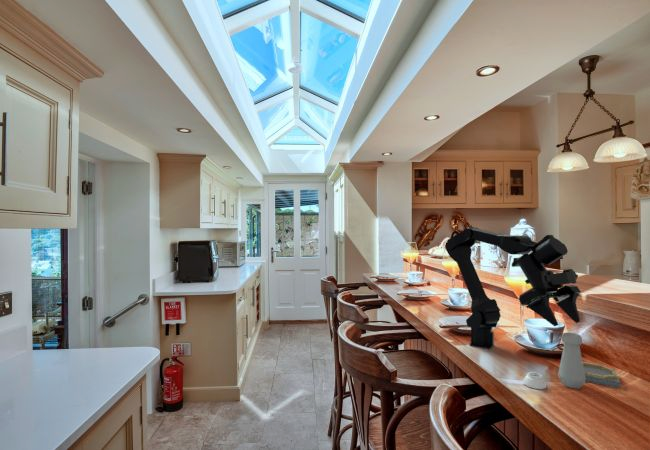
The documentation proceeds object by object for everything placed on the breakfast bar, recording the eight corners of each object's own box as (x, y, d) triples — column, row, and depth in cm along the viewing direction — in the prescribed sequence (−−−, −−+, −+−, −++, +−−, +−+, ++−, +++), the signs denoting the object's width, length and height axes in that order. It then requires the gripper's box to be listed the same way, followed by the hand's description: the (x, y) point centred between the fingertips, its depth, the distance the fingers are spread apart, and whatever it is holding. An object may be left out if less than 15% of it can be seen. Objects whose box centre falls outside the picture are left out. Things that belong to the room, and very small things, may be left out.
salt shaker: (590, 391, 87) (590, 338, 87) (564, 389, 88) (564, 336, 88) (578, 381, 93) (578, 331, 93) (554, 379, 94) (554, 329, 94)
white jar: (537, 381, 93) (518, 382, 93) (537, 370, 93) (519, 370, 93) (550, 390, 88) (531, 390, 88) (550, 378, 88) (531, 378, 88)
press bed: (571, 378, 95) (571, 370, 95) (570, 366, 103) (570, 359, 103) (620, 388, 89) (620, 379, 89) (615, 375, 98) (615, 367, 98)
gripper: (535, 259, 95) (571, 314, 86) (579, 257, 102) (615, 308, 94) (505, 279, 103) (535, 331, 95) (548, 276, 111) (579, 325, 102)
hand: (567, 324), depth 96 cm, fingers open, 9 cm apart
